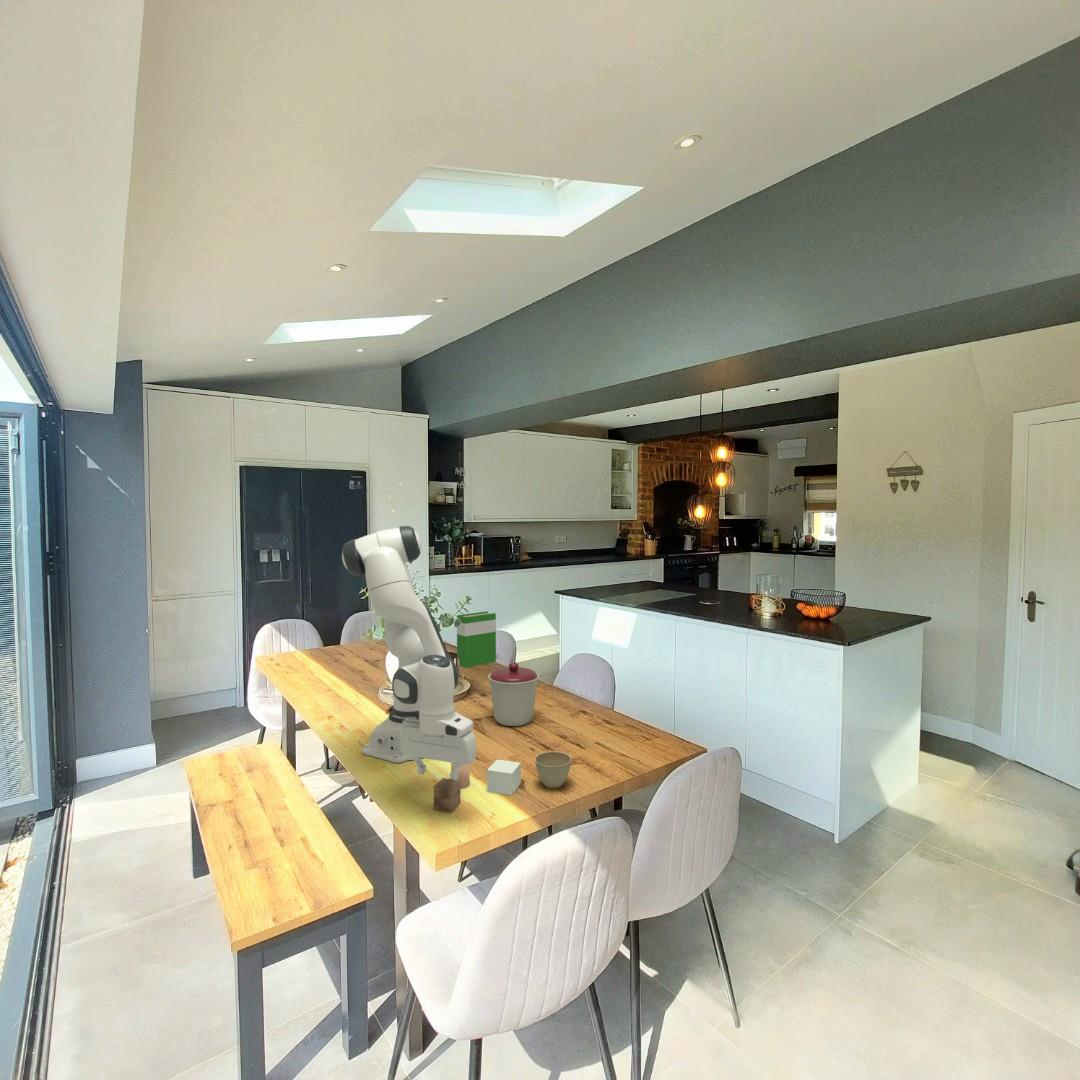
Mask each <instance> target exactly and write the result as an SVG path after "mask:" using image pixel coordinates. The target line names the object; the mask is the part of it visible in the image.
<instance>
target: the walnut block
mask: <svg viewBox="0 0 1080 1080" xmlns="http://www.w3.org/2000/svg"><path fill="white" fill-rule="evenodd" d="M432 788H433V810H434V811H439V812H443V813H450V814H453V812H454V811H455V810H456V809H457V808H458V807H459V805H460V804H461V789H460V781H459V780H452V779H450V778H446V777H442V778H440V780H439V781H437V783H436V784H434V785H433V787H432Z"/></svg>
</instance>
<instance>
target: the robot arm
mask: <svg viewBox="0 0 1080 1080" xmlns="http://www.w3.org/2000/svg"><path fill="white" fill-rule="evenodd" d="M421 551H422V540H421V537H420V535H419V534H418V532H417V531H416V530H415V529H414V528H413V527H412V526H410V525H402V526H399V527H395V528H390V529H389V528H388V529H382V530H378V531H376V532H373V533H370V534H367V535H363V536H362V537H361V536H360V537H359V538H356V539H355V538H354V539H351V540H349V541H347V542H345V543H344V545H343V547H342V553H341V560H342V563H343V566H344V567H345V569H346V570H347V571H348V574H350V575H352V576H354V577H357V576H358V577H361V578H362V577H363V578H364V577H365V580H366V587H367V591H368V594H369V599H370V602H371V605H372V608H373V610H374V612H375V613H376V614H377V615H378V616H379V617H381V618H382V619H383V626H384V628H383V629H384V634H385V636H384V641H385V646H386V647H387V649H388V651H389V653H390V654H392V655H393V656H395V657H396V658H397V659H398V668H397V670H396V671H395V672H394V675H392V677H393V678H392V680H391V688H392V693H393V694H392V695H393V697H392V698H393V705H391V706H390V707H389V708H388V709H386V710H385V715H388V714H389V715H388V717H387V718H386V719H385V720H384V721H382V722H381V723H380V724H378V725H377V726H376V727H375V728H374V729H373V730H372V732H371V734H370V738H369V739H370V740H369V742H367V743H366V744H365V745H364V746H363V748H362V750H361V751H362V752H361V754H363V755H367V756H370V757H374V758H377V759H378V758H379V759H381V760H385V761H388V762H392V763H396V764H399V763H403V762H407V761H413V762H414V764H415V766H416V767H417V774H420V775H424V774H425V773H426V772H427V765H426V764H424V762H423V760H422V759H428V760H434V761H439V762H446V763H450V764H451V763H454V767H456V768H455V770H453V771H452V772H451V771H450V772H449V776H450V777H449V779H452V780H457V779H458V777H459V770H460V769H461V767H462V765H469V764H470V765H471V764H472V763H474V761H475V760H476V759H477V758H476V757H477V744H476V743H477V742H476V736H475V734H474V732H473V731H472V729H473V728H474V721H472V720H471V719H469V718H468V717H465V716H463V715H462V714H460V713H458V712H457V711H456V708H455V707H456V706H455V703H454V696H455V691H456V690H455V689H456V687H457V685H458V682H459V677H460V673H459V669H458V667H457V664H456V663H455V661H454V660H453V658H452V657H451V655H450V653H449V651H448V649H447V647H446V644H445V642H444V640H443V638H442V635H441V632H440V630H439V629H438V626H437V624H436V620H435V619H434V616H433V615H432V613H431V611H430V609H429V607H428V606H427V605H426V604H425V603H424V602H422V600H420V598H418V596H417V593H416V590H415V585H414V582H413V580H412V579H413V578H412V576H411V573H410V569H409V567H408V565H407V563H409V564H410V565H411V564H412V563H413V562H414V561H416V560H417V559H418V558H419V557H420V556H421Z"/></svg>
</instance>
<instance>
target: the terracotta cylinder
mask: <svg viewBox="0 0 1080 1080" xmlns="http://www.w3.org/2000/svg"><path fill="white" fill-rule="evenodd" d="M470 766H471V764H469V765H462V767H461V769H460V770H459V777H458V779H457V780H459V781H460V790H463V789H466V788H469V786H470V784H471V782H470V770H471V769H470ZM455 768H456V767H454V763H450V773H451V772H452V771H453V770H455Z"/></svg>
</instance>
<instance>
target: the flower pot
mask: <svg viewBox="0 0 1080 1080" xmlns="http://www.w3.org/2000/svg"><path fill="white" fill-rule="evenodd" d="M534 763H535V767H536V768H535V769H536V772H537V774H538V776H539V779H540V780H541V782H542V784H543V785H544V786H545V787H547V788H549V789H558V788H561V787H562V786H563V784H564V783H565V781H566V780H567V778H568V776H569V773H570V770H571V765H572V757H571V756H570V754H568V753H565V752H562V751H557V750H555V751H554V750H553V751H545V752H542V753H539V754H537V755H536V756H535V757H534Z"/></svg>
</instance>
